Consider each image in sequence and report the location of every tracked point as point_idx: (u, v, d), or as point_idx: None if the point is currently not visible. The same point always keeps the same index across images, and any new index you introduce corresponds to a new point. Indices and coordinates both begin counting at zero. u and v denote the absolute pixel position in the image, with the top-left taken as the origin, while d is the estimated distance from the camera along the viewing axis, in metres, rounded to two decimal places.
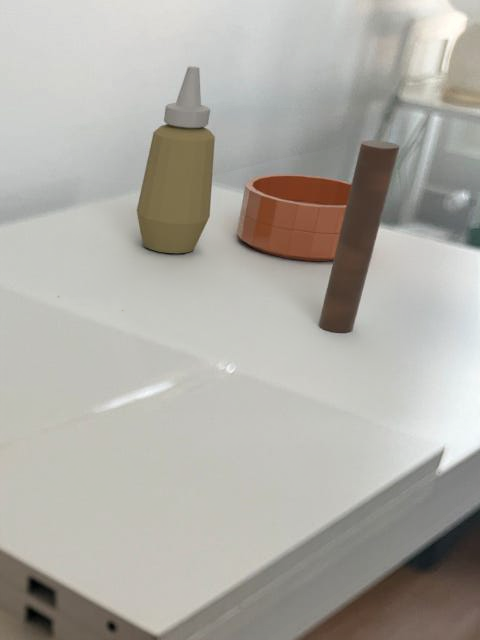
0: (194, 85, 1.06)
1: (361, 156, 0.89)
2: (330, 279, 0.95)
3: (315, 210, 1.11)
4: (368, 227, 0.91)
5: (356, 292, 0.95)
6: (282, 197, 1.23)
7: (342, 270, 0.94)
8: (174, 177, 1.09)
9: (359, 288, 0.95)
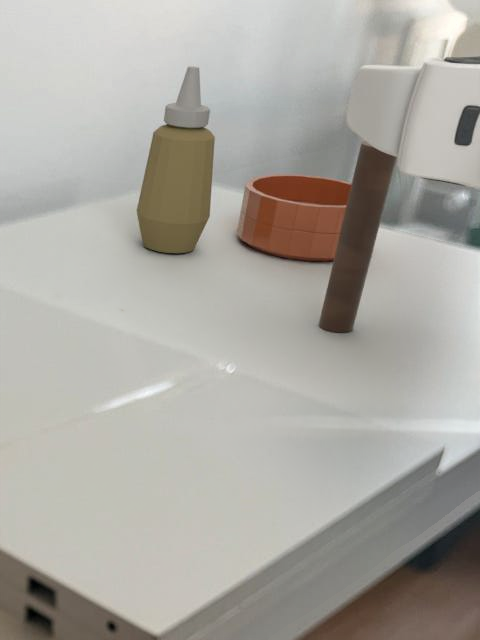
0: (193, 85, 1.06)
1: (361, 156, 0.89)
2: (330, 279, 0.95)
3: (315, 210, 1.11)
4: (368, 227, 0.91)
5: (356, 292, 0.95)
6: (282, 197, 1.23)
7: (342, 270, 0.94)
8: (174, 177, 1.09)
9: (359, 288, 0.95)
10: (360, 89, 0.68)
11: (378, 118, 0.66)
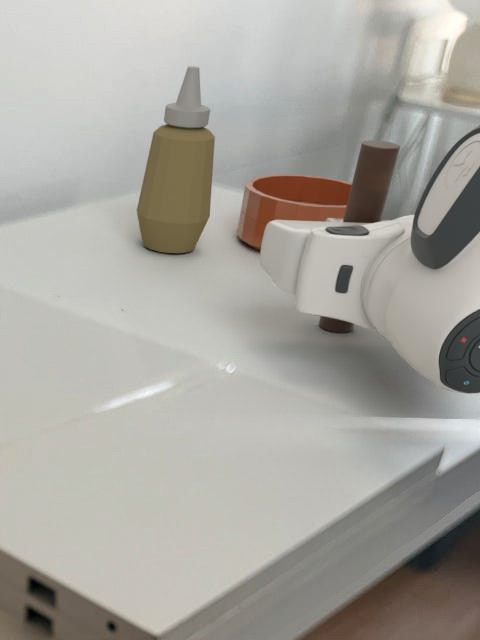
0: (194, 84, 1.06)
1: (362, 156, 0.89)
2: None
3: (315, 210, 1.11)
4: None
5: None
6: (282, 197, 1.23)
7: None
8: (174, 177, 1.09)
9: None
10: (268, 239, 0.87)
11: (280, 266, 0.85)
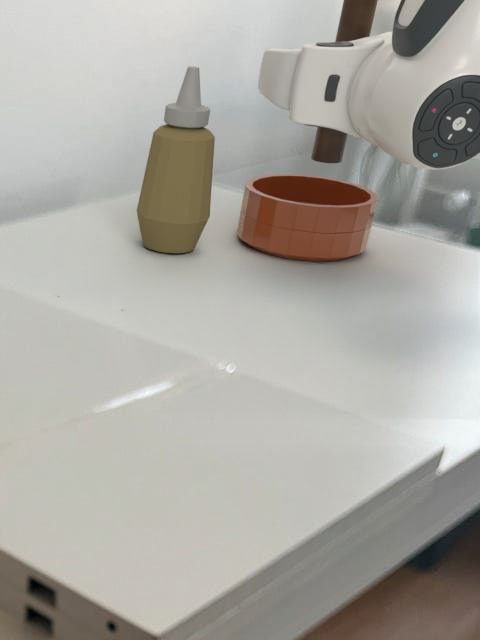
0: (194, 84, 1.06)
1: None
2: None
3: (315, 210, 1.11)
4: None
5: None
6: (282, 197, 1.23)
7: None
8: (174, 177, 1.09)
9: None
10: (265, 65, 0.99)
11: (276, 85, 0.97)
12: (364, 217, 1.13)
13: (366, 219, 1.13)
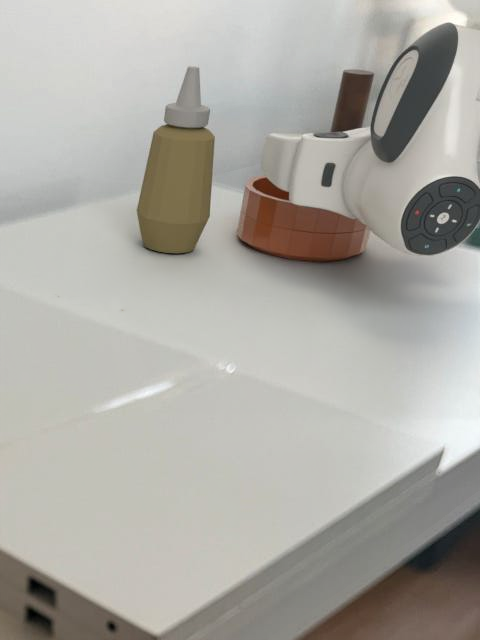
0: (194, 85, 1.06)
1: (343, 81, 1.09)
2: None
3: (315, 210, 1.11)
4: None
5: None
6: (282, 197, 1.23)
7: None
8: (174, 177, 1.09)
9: None
10: (267, 148, 1.07)
11: (277, 168, 1.05)
12: None
13: None
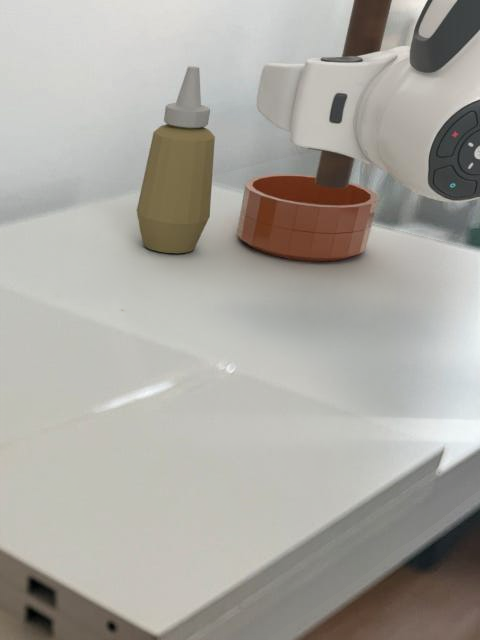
0: (194, 84, 1.06)
1: (356, 3, 0.91)
2: None
3: (315, 210, 1.11)
4: None
5: None
6: (282, 197, 1.23)
7: None
8: (174, 177, 1.09)
9: None
10: (265, 81, 0.89)
11: (276, 103, 0.87)
12: (364, 217, 1.13)
13: (366, 219, 1.13)
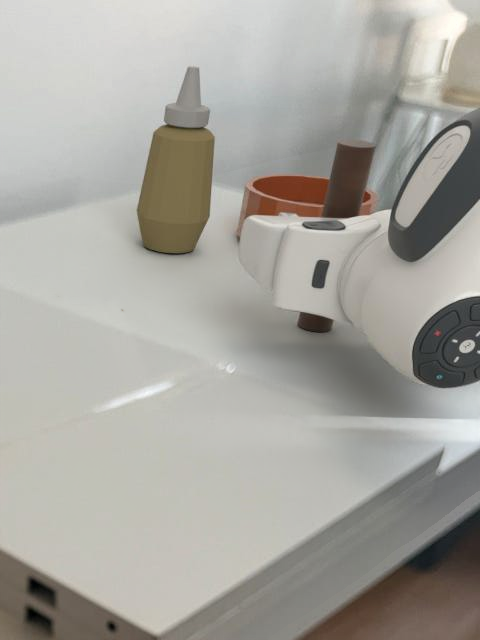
0: (193, 85, 1.06)
1: (338, 155, 0.89)
2: None
3: (315, 210, 1.11)
4: None
5: None
6: (282, 197, 1.23)
7: None
8: (174, 177, 1.09)
9: None
10: (246, 235, 0.87)
11: (258, 261, 0.85)
12: None
13: None
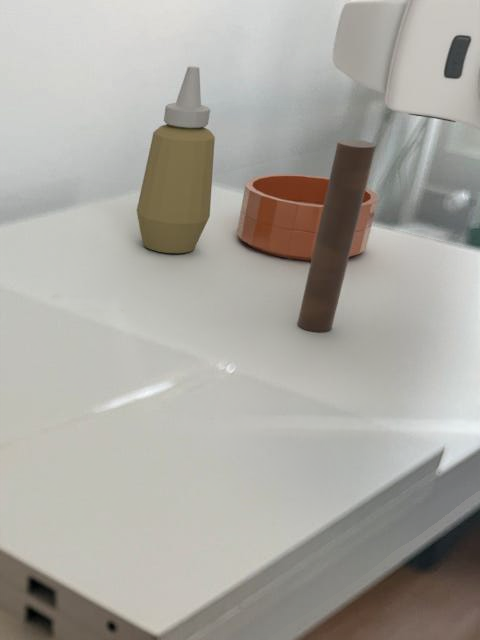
0: (193, 85, 1.06)
1: (338, 155, 0.89)
2: (308, 278, 0.95)
3: (315, 210, 1.11)
4: (345, 226, 0.91)
5: (334, 292, 0.95)
6: (282, 197, 1.23)
7: (320, 269, 0.94)
8: (174, 177, 1.09)
9: (337, 288, 0.94)
10: (346, 24, 0.65)
11: (365, 53, 0.64)
12: (364, 217, 1.13)
13: (366, 219, 1.13)
